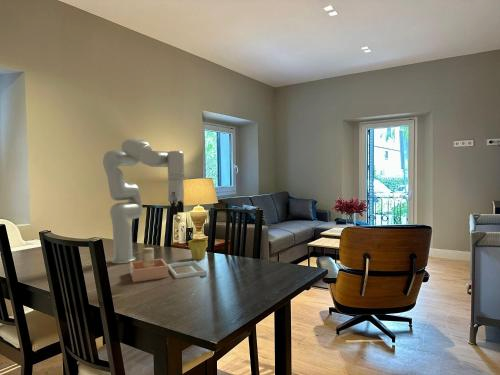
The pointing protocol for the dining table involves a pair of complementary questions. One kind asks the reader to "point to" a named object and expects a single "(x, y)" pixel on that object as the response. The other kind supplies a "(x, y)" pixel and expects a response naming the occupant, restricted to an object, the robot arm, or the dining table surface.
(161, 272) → the peach square hollow box
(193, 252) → the plant pot
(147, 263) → the maple peg
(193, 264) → the grey tray
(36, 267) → the dining table surface
